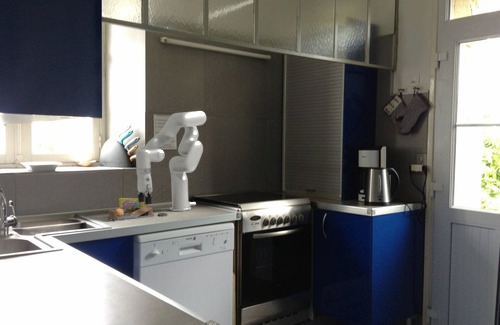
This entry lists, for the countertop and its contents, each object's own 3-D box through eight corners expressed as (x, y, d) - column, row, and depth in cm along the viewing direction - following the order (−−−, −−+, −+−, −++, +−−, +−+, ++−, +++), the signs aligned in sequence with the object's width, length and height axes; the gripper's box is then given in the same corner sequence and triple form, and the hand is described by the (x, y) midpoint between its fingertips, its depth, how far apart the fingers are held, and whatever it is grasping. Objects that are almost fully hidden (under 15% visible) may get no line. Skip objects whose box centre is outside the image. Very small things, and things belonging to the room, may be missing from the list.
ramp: (146, 214, 262) (146, 205, 261) (153, 216, 254) (153, 206, 254) (108, 218, 249) (108, 209, 249) (114, 221, 242) (113, 211, 241)
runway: (147, 214, 262) (147, 211, 262) (153, 216, 254) (153, 212, 254) (108, 218, 249) (108, 215, 249) (114, 221, 242) (114, 217, 242)
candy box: (119, 212, 272) (118, 198, 272) (121, 211, 274) (120, 197, 274) (143, 213, 267) (142, 198, 267) (145, 212, 269) (144, 198, 269)
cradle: (163, 214, 259) (163, 212, 259) (167, 215, 255) (167, 213, 255) (157, 215, 257) (157, 213, 257) (161, 216, 253) (161, 214, 253)
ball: (123, 215, 252) (120, 206, 250) (126, 216, 247) (123, 207, 246) (114, 218, 249) (111, 210, 248) (117, 220, 245) (114, 211, 244)
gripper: (156, 172, 250) (157, 203, 251) (143, 170, 264) (145, 200, 265) (143, 173, 246) (144, 205, 247) (131, 171, 260) (132, 202, 261)
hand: (144, 202), depth 256 cm, fingers open, 9 cm apart
